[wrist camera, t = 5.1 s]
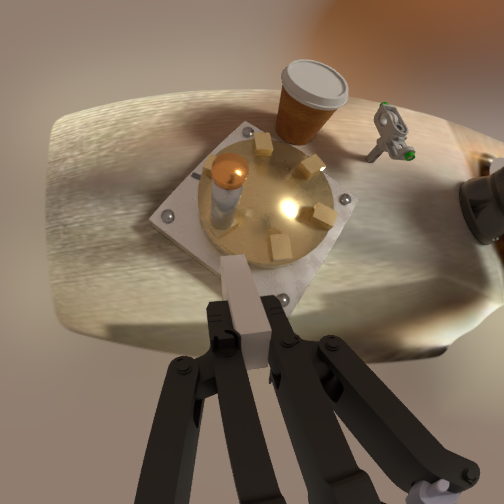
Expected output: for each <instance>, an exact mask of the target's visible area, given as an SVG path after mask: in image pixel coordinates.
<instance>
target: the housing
mask: <svg viewBox="0 0 504 504" xmlns="http://www.w3.org/2000/svg"><path fill="white" fill-rule="evenodd" d="M254 132H263V131H262V130H260V129H258V128H257V127H255V126H253V125H252V124H250V123H248V122H247V121H244V122H243V123H242V124H241V125H240V126H239V127H238V128H237V129H235V130H234V131H233V132H232V133H231V134H230V135H229V136H228V137H227V138H226V139H225V140H224V141H223V142H222V143H220V144H219V145H218V146H217V147H216V148H215V149H214V150H213V151H212V152H211V153H210V154H213V155H216V154H217V153H218V152H219V151H221V150H222V149H224V148H225V147H227V146H229V145H231V144H233V143H236V142H239V141H243V140H248V139H252V137H253V134H254ZM263 133H265V132H263ZM271 140H275V141H277V140H276V139H274V138H273V137H271ZM210 154H209V155H210ZM209 155H208V156H207V157H206V158H205V159H204V160H203V161H202V162H201V163H200V164H199V165H198V166H197V167H196V168H195V169H194V170H193V171H192V172H191V173H190V174H189V175H188V176H187V177H186V178H185V180H184V181H183V182H182V183H181V184H180V185H179V186H178V187H177V188H176V189H175V190H174V191H173V192H172V193H171V195H170V196H169V197H168V198H167V199H166V200H165V201H164V202H163V203H162V205H161V206H160V207H159V208H158V209H157V210H156V211H155V212H154V214H153V215H152V216H151V217H150V218H149V221H150V223H151V225H152V227H154V228H155V229H156V230H157V231H159V232H160V233H161V234H162V235H164V236H165V237H166V238H168V239H169V240H170V241H171V242H173V243H174V244H175V245H177V246H178V247H179V248H181V249H182V250H183V251H184V252H186V253H187V254H188V255H190V256H191V257H192V258H194V259H195V260H196V261H198V262H199V263H200V264H202V265H203V266H204V267H206V268H207V269H208V270H210V271H211V272H212V273H214V274H215V275H216V276H218V277H219V278H220V279H221V261H220V256H225V255H224V254H223V253H222V252H220V251H219V250H218V249H217V248H216V247H215V246H214V245H213V243H212V242H211V241H210V239H209V238H208V237H207V235H206V233H205V231H204V229H203V227H202V224H201V221H200V217H199V211H198V185H199V181H200V177H201V175H202V166H203V165H204V163H205V162H206V160H207V158H208V157H209ZM322 172H323V171H322ZM323 173H324V172H323ZM324 175H325V177H326V179H327V181H328V182H329V185H330V188H331V191H332V195H333V201H334V210H335V211H337V212H338V214H337V217H336V220H335V224H334V227H333V228H331V229H330V230H329V231H328V233H327V235H326V237H325V238H324V239H323V241H322V242H321V243H320V244H319V245H318V246H317V247H316V248H315V249H314V250H313V251H311V252H310V253H309V254H307V255H306V256H305V257H303V258H302V259H300V260H299V261H297V262H295V263H293V264H291V265H288V266H285V267H281V268H275V269H258V268H253V267H249V268H250V271H251V274H252V277H253V280H254V282H255V285H256V288H257V291H258V294H259V296H267V295H274V296H275V297H276V298H278V299H279V300H280V302H281V305H282V308H283V309H284V311H285V314H286V316H287V318H288V317H289V315H290V314H291V312H292V311H293V309H294V308H295V306H296V305H297V303H298V302H299V300H300V299H301V297H302V295H303V294H304V292H305V291H306V289H307V287H308V286H309V284H310V283H311V281H312V279H313V278H314V276H315V275H316V273H317V271H318V270H319V268H320V266H321V265H322V263H323V261H324V260H325V258H326V256H327V255H328V253H329V251H330V250H331V248H332V246H333V245H334V243H335V241H336V239H337V238H338V236H339V234H340V233H341V231H342V229H343V227H344V225H345V224H346V222H347V220H348V218H349V217H350V215H351V213H352V211H353V209H354V208H355V206H356V204H357V202H358V200H359V199H358V198H357V197H356V196H355V195H353V194H352V193H351V192H349V191H348V190H347V189H346V188H344V187H343V186H342V185H340V184H339V183H338V182H336V181H335V180H334V179H332V178H331V177H330V176H328V175H327V174H326V173H324Z"/></svg>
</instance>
